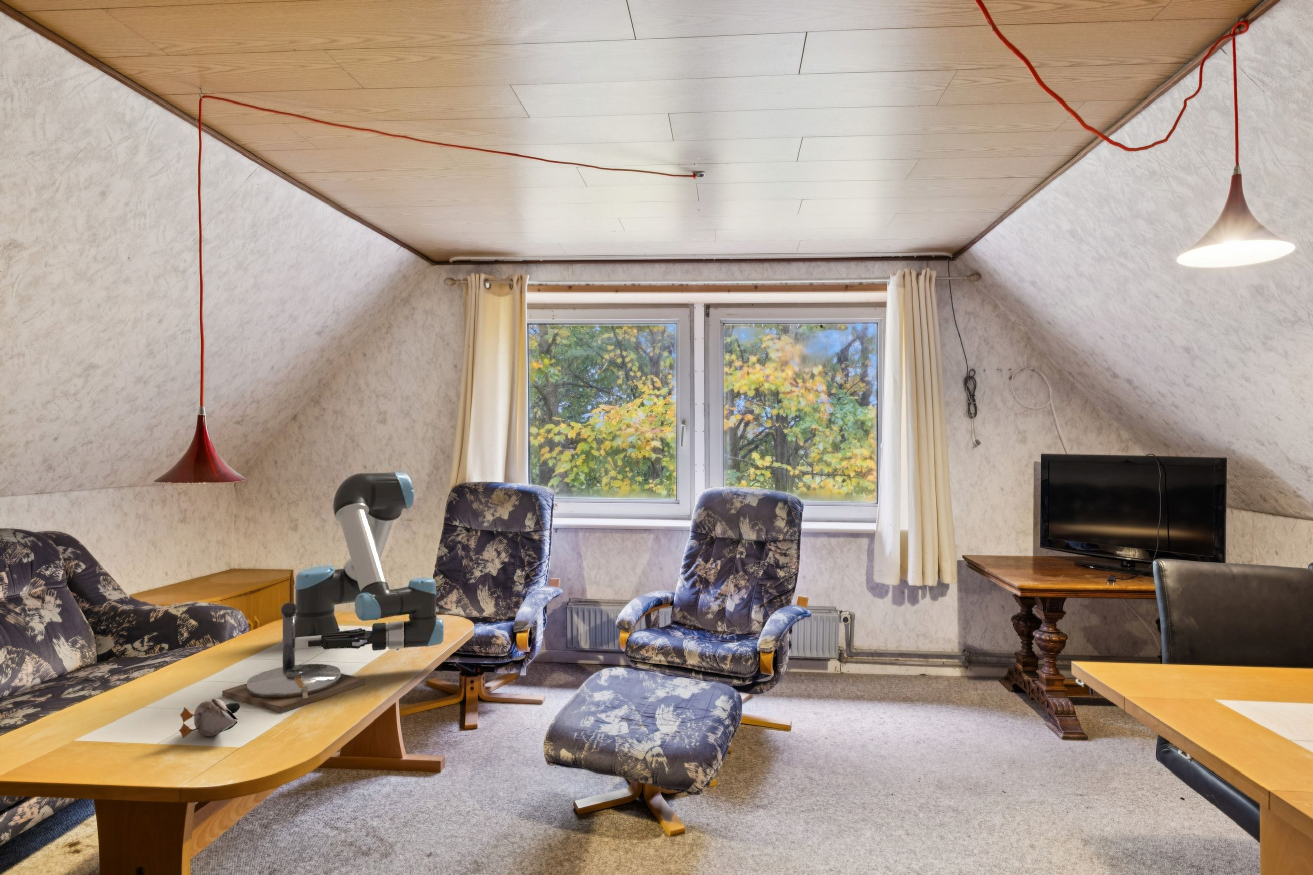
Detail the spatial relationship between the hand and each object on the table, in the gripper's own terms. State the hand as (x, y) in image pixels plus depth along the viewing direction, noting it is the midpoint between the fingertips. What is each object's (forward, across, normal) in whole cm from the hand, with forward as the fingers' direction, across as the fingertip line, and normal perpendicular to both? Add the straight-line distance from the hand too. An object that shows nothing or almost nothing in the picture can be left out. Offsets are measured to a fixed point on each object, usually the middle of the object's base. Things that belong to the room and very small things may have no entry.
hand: (295, 643), depth 203 cm
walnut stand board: (-1, -10, -10) cm, 14 cm away
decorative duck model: (+10, -35, -10) cm, 38 cm away
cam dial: (-1, -9, -8) cm, 12 cm away
